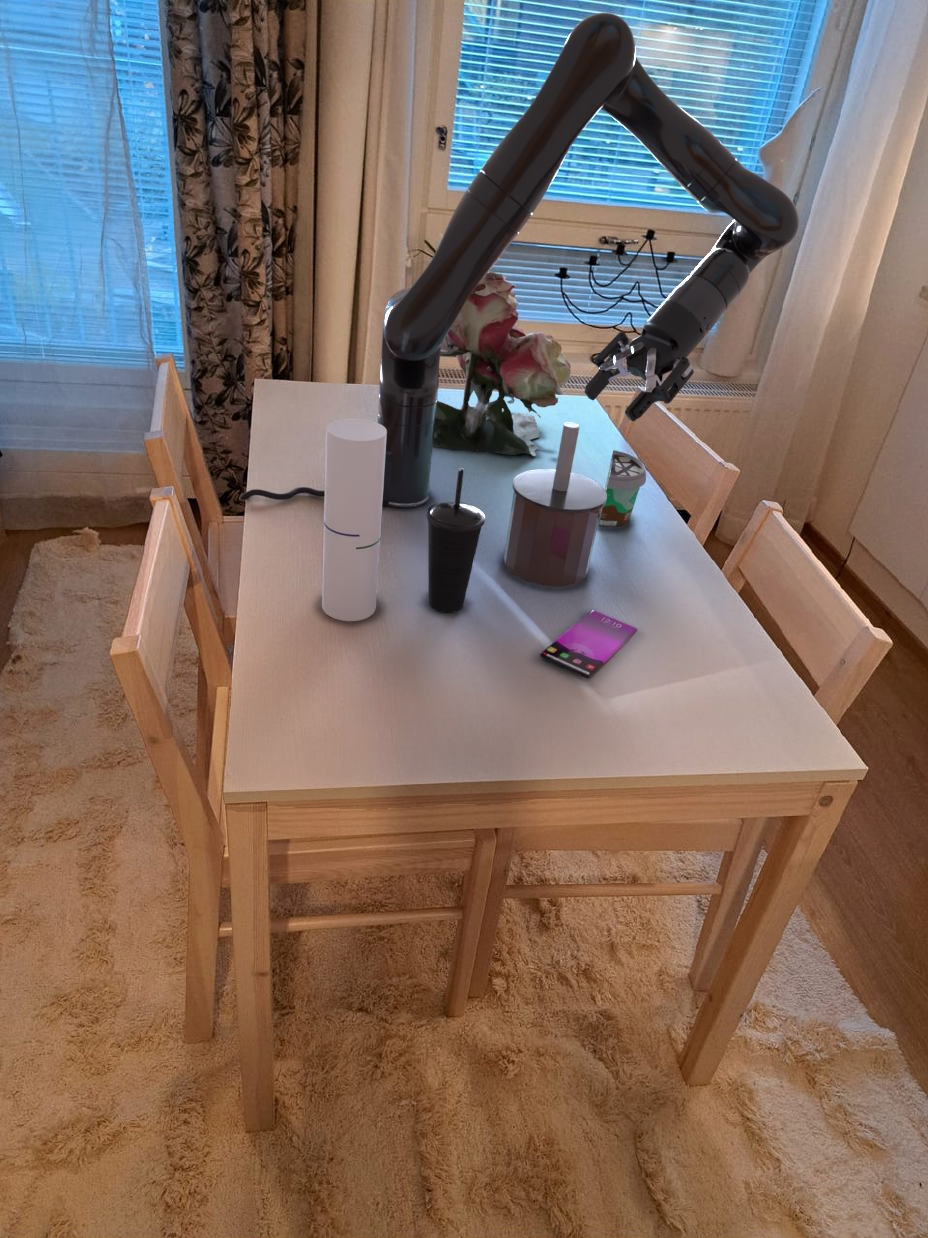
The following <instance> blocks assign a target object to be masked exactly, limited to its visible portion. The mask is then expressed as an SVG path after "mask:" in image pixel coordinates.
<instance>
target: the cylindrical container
mask: <svg viewBox="0 0 928 1238" xmlns="http://www.w3.org/2000/svg"><path fill="white" fill-rule="evenodd" d="M386 437H387V430H386V428H385V427H384V426H382V425H381V424H379V423H378V422H376V421H374V420H370V419H365V418H356V417H355V418H354V417H350V418H349V417H346V418H339V419H335V420H332V421H330V422H329V423H327V424H326V426H325V460H324V461H325V462H324V463H325V466H324V468H325V469H324V490H325V497H324V505H323V506H324V507H323V508H324V509H323V547H322V548H323V552H322V590H321V592H322V593H321V608H322V611H323V613H325V615H327V616H329V617H330V618H332V619H335V620H338V621H342V622H359V621H363V620H365V619H369V617H371V616H373V614H374V613H375V611H376V608H377V594H378V593H377V592H378V577H379V563H380V562H379V560H380V545H381V544H380V543H381V531H382V515H383V513H382V512H383V506H382V500H383V484H384V468H385V453H386Z"/></svg>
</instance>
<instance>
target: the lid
mask: <svg viewBox="0 0 928 1238" xmlns="http://www.w3.org/2000/svg"><path fill="white" fill-rule="evenodd" d="M580 428H581V427H580V424H577V423H576V422H569V421H568V422H565V423H563V425H562V432H561V437H560V443H559V449H558V453H557V459H556V465H555V466H556V467H555V469H554V468H536V469H530V470H526V471H522V472H521V473H519V474H517V475H516V476H515V477H514V478H513V481H512V490H513V493H514V492H515V493H516V495H517V496H518V497H520V498H521V499H522V500H524V501H525V502H527V503H529V504H531V505H534V506H536V507H539V508H542V509H545V510H549V511H554V512H560V513H587V512H592V511H595V510H598V509H600V508H601V507H603V506H604V504H605V503H606V500H607V493H606V491H605V487H603V486H602V485H601V484H600V483H598V482H597V481H596V480H593V479H591V478H590V477H588V476H586V475H582V474H579V473H577V472H572V469H573V464H574V458H575V453H576V450H577V449H576V448H577V443H578V437H579V433H580Z"/></svg>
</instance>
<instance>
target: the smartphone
mask: <svg viewBox="0 0 928 1238" xmlns="http://www.w3.org/2000/svg"><path fill="white" fill-rule="evenodd" d="M637 631H638V629H637V627H635V626H633V625H630V624H628V623H626V622H623V621H620V620H618V619H615V618H613V617H611V616H609V615H606V614H604V613H602V612H600V611H597V610H594V609H592V610H590V611H589V612H587V613H586V614H585V615H584V616H583V617H581V618H580V619H579V620H578V621H577V622H576V623H575V624H573V625H572V626H571V627H569V628H568V629H567V630H566V631H565V632H564V633H563V634H562V635H560V636H559V637H558V638H557V639H555V640H554V641H553V642H552V643H550V645H549V646H547V647H546V648H545V649H544V650H542V651H541V652H540V653H539V656H540V658H542V659H545V660H547V661H549V662H550V663H553V664H555V665H557V666H559V667H561V668H564V669H566V670H568V671H570V672H573V673H574V674H577V675H579V676H582V678H583V677H584V678H586V679H589V678H591V677H592V676H593V675H594V674H595V673H596V672H597V671H598V670H600V668H601V667H602V666H604V665H605V664H606V662H607V661H608V660H609V659H611V658H612V657H613V656H614V655H615V654H616V653H617V652H618V651H619V650H620V649H621V648H622V647H623V646H624V645H625V644H626V643H627V642H628V641H630V639H631V638H632V637H633V636H635V634H636V633H637Z"/></svg>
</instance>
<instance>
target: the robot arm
mask: <svg viewBox="0 0 928 1238" xmlns="http://www.w3.org/2000/svg"><path fill="white" fill-rule="evenodd" d="M600 110H602V112H604V113H606V114H607V115H609V117H612V118H613V119H614V120H615V121H617V122H618V123H619V124H620V125H621V126H623V128H625V129H626V130H627V131H628V132H629V133H631V135H633V136H634V138H636V140H638V141H639V142H640V143H641V144H642V145H643V146H644V148H646V150H647V151H649V153H650V154H651V155H652V156H653V157H654V158H655V159H656V160H657V162H659V164H660V165H661V166H662V167H663V168H664V169H665V170H666V172H668V174H669V175H670V176H671V177H672V178H673V179H674V180H675V181H676V182H677V183H678V184H679V185H680V186H681V187H682V189H683V190H685V192H686V193H687V194H688V195H690V197H691V198H693V200H694V201H696V203H697V204H698V205H699V206H700V207H701V208H703V209H704V210H705V211H707V212H708V213H710V214H720V213H721V214H725V215H727V216H728V217H730V218H731V219H732V222H731V223H730V224H729V225H728V226H727V227H726V229H725V230H724V232H723V233H722V234H721V235H720V237H719V239H718V240H717V241H716V243H715V244H714V246H713V247H712V249H711V251H710V252H709V253H707V255H706V256H705V257H704V258H703V259H702V260H701V261H700V262H699V263H698V265H697V266H695V268H694V269H693V270H692V271H691V272H690V274H689V275H688V276H687V277H686V278H685V279H684V280H683V281H682V282H681V283H679V284H678V285H677V286H676V287H675V288H674V289H673V290H672V291H671V293H670V294H669V295H668V296H667V298H665V300H664V301H663V302H662V303H661V304H660V306H658V308H656V310H655V311H654V312H653V313H652V314H651V316H649V318H648V319H647V320H646V321H645V323H644V324H643V328H642V330H641V331H642V332H641V334H640V335H639V336H637V337H635V338H634V339H632V338H630V337H628V336H627V334H626V332H625V331H622V330H621V331H619V332H618V333H617V334H616V335H615V336H614V338H612V339H611V340H610V342H608V344H607V345H606V346H605V347H604V348H603V349H602V350H601V351H600V352H599V353H598V354H597V355H596V356H595V357H594V359H593V363H594V364H595V365H596V367H597V369H598V370H597V372H596V373H595V375H593V377H592V378H591V379H590V380H589V382H587V383H586V385H585V387H584V388H585V389H584V394H585V395H586V397H587V398H588V399H589V400H591V401H595V400H596V399H597V398H598V397H599V395H600V394H601V393H602V392H603V391H604V390H605V389H606V387H607V386H608V385H609V384H610V381H611V380H614V379H616V378H619V377H627V376H630V375H632V376H633V377H639V378H641V379H642V380H643V381H645V389H644V390H645V391H643V390H641V391H640V392H639V394H638V395H637V396H636V397H635V398H634V399H633V400H632V402H631V403H630V404H629V405H628V406H627V408H625V409H624V415H626V418H627V419H628V420H629V421H631V422H636V420H638V419H640V418H642V416H644V414H645V413H646V412H647V411H648V409H649V408H650V407H651V406H652V405H653V404H656V403H658V402H663V403H664V404H666V405H668V404H670V403H672V401H673V400H674V399H675V398H676V397H677V395H678V394H679V393H680V392H681V390H682V389H683V387H684V386H685V385H686V384H687V383H688V382H689V380H690V379H691V377H693V375H694V373H695V371H694V368H693V366H692V363H691V362H690V360H689V359H688V356H689V355H690V354H692V352H693V351H694V350H695V349H696V347H698V345H699V344H700V343H701V342H702V341H703V339H704V338H705V337H706V336H707V335H708V334H709V333H710V332H711V330H712V329H713V328H714V327H715V326H716V325H717V323H718V322H719V320H720V319H721V317H722V316H723V314H724V313H725V312H726V310H727V309H728V308H729V307H730V306H731V305H732V303H733V302H734V301H736V299H737V298H738V297H739V295H740V294H741V293H742V292H743V290H744V289H745V288H746V286H747V284H748V283H749V280H750V275H751V274H752V272H753V271H755V269H756V267H757V266H758V265H759V264H760V263H761V262H762V261H763V260H765V258H766V257H768V256H770V255H771V254H774V253H775V252H777V251H779V250H781V249H783V248H785V247H786V246H788V245H789V244H790V243H791V242H792V241H793V240H794V239H795V237H796V236H797V234H798V232H799V227H800V216H799V215H800V214H799V212H798V210H797V207H796V206H795V203H794V202H793V201H792V200H791V198H790V196H788V195H787V194H786V193H785V192H784V191H783V190H781V189H780V188H779V187H777V186H776V185H774V184H772V183H771V182H769V181H768V180H767V179H765V178H763V177H762V176H760V175H758V174H757V173H755V172H753V171H751V170H749V169H748V168H747V167H745V166H744V165H743V164H742V162H740V161H739V160H738V158H736V156H735V155H734V154H733V153H732V152H731V151H730V150H729V149H728V148H727V147H726V146H725V145H724V144H723V143H722V142H721V141H720V139H718V138H717V137H716V136H715V135H714V134H713V133H712V132H711V131H709V130H708V128H706V126H704V125H703V124H701V123H700V122H699V121H698V120H697V119H696V118H694V117H693V116H692V115H690V114H689V113H688V112H686V111H685V110H684V109H683V108H681V107H680V106H679V105H678V104H677V103H676V102H674V101H673V100H672V99H671V98H670V97H669V96H668V95H667V94H666V93H665V92H664V91H663V90H662V89H661V88H660V87H659V86H658V85H657V84H656V82H655V81H654V80H653V79H652V77H651V76H650V74H648V72H647V71H646V69H645V68H644V67H643V65H642V63H641V62H640V60H639V59H638V58H637V56H636V42H635V37H634V34H633V32H632V30H631V27H630V26H629V25H628V23H627V21H625V20H624V19H623V18H622V17H621V16H618V15H617V14H614V13H611V12H598V13H594V14H591V15H589V16H586V17H585V18H583V19H582V20H581V21H580V22H579V23H577V24H576V25H575V26H574V28H572V30H571V32H570V34H569V35H568V37H567V39H566V41H565V43H564V46H563V47H562V50H561V51H560V53H559V55H558V57H557V59H556V61H555V62H554V64H553V67H552V68H551V70H550V72H549V74H548V75H547V77H546V79H545V80H544V83H543V84H542V86H541V88H540V90H539V91H538V93H537V94H536V96H535V98H534V99H533V101H532V102H531V104H530V105H529V106H528V108H527V109H526V110H525V112H524V113H523V114H522V116H521V117H520V118H519V119H518V120H517V121H516V122H515V124H514V125H513V126H512V128H511V129H510V130H509V131H508V132H507V134H506V135H505V136H504V137H503V139H502V140H501V141H500V142H499V144H498V145H497V146H496V148H495V149H493V152H492V153H491V154H490V156H489V157H488V159H487V160H486V161H485V162H484V164H483V166H481V168H480V170H479V171H478V173H477V174H476V175H475V177H474V178H473V180H472V181H471V183H470V185H469V186H468V187H467V189H466V190H465V192H464V194H463V195H462V197H461V199H460V201H459V202H458V204H457V206H456V207H455V210H454V211H453V214H452V216H451V218H450V220H449V222H448V224H447V226H446V229H445V231H444V233H443V236H442V237H441V240H440V242H439V243H438V244H439V245H438V246H437V249H436V250H435V253H434V254H433V256H432V258H431V260H430V261H429V262H428V263H429V264H428V265H427V266H426V267H425V269H424V270H423V271H422V273H421V275H419V276H418V278H417V280H416V281H415V282H414V283H413V285H412V286H411V287H410V286H409V287H404V288H403V289H402V288H401V289H400V290H398V291H396V292H395V293H394V294H393V295H392V296H391V297H390V298H389V300H388V301H387V303H386V305H385V307H384V310H383V317H382V330H381V331H382V333H381V334H382V335H381V349H380V350H381V352H380V367H379V390H378V392H379V393H378V395H379V396H378V407H377V408H378V409H377V423H379V424H381V425H382V426H384V427H385V428H386V430H387V437H386V453H385V468H384V484H383V500H382V507H387V506H389V507H394V508H403V509H405V508H407V509H409V508H415V507H419V506H422V505H424V504H426V503H427V502H428V501H429V496H430V493H429V491H430V481H431V469H432V460H433V459H432V457H433V448H434V446H433V439H434V428H435V418H436V408H437V400H438V396H439V386H440V384H439V383H440V362H441V361H440V360H441V356H440V351H441V350H442V345H443V343H444V341H445V340H444V339H445V338H446V336H447V334H448V332H449V330H450V328H451V327H452V325H453V323H454V321H455V320H456V318H457V316H458V314H459V313H460V311H461V309H462V308H463V306H464V304H465V302H466V301H467V299H468V298H469V296H470V295H471V293H472V292H473V290H474V289H475V288H476V286H477V285H478V284H479V283H480V281H481V280H482V279H483V278H484V277H485V275H486V274H487V273H489V272H491V271H490V270H491V269H492V268H493V267H494V266H495V265H496V263H497V262H498V261H499V260H500V258H501V257H502V255H503V254H504V253H505V252H506V250H508V247H509V246H510V245H511V244H512V243H513V241H514V240H515V239H516V237H517V236H518V235H519V233H520V232H521V231H522V229H523V228H524V226H525V224H526V223H527V222H528V221H529V219H530V218H531V216H532V215H533V214H534V212H535V211H536V209H537V208H538V206H539V204H541V201H542V200H543V198H544V197H545V196H546V193H547V191H548V190H549V188H550V186H551V185H552V183H553V181H554V179H555V177H556V175H557V174H558V172H559V169H560V168H561V166H562V164H563V162H564V160H565V158H566V156H567V154H568V153H569V151H570V149H571V147H572V146H573V144H574V143H575V141H576V140H577V139H578V137H579V136H580V134H581V133H582V132H583V130H585V128H586V127H587V125H588V124H589V123H590V122H591V121H592V119H593V118H594V117H595V116H596V114H597V113H598V112H599V111H600ZM485 278H486V277H485ZM624 361H626V362H625V363H626V365H625V363H624ZM666 374H668V375H667V376H666V377H665V375H666ZM299 494H308V495H312V496H315V497H318V498H319V497H320V498H323V497H324V498H325V489H324V490H319V489H315V488H313V487H309V486H299V487H295V488H293V489H291V490H289V491H288V492H283V493H277V492H272V491H269V490H265V489H261V488H254V489H249V490H248V491H245V492H244V493H243V494H242V495H241V496H240V497H239V500H241V501H245V500H248V499H249V498H251V497H254V496H261V497H265V498H267V499H272V500H277V501H286V500H289V499H291V498H293V497H295V496H296V495H299Z"/></svg>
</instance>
